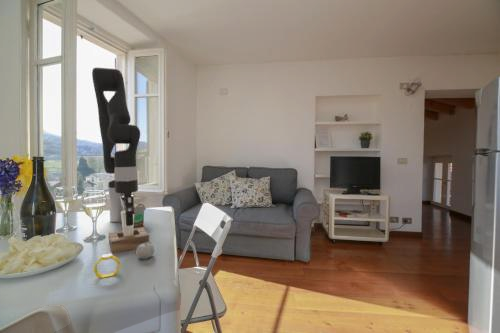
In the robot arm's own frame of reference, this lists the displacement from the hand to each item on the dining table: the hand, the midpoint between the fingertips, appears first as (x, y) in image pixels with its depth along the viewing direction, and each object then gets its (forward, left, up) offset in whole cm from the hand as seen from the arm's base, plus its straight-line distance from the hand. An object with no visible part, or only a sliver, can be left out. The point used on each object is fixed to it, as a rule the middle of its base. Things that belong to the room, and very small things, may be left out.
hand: (128, 222), depth 90 cm
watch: (+23, -8, -8) cm, 26 cm away
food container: (-20, +6, -8) cm, 22 cm away
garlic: (+16, +3, -9) cm, 18 cm away
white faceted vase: (0, 0, -8) cm, 8 cm away
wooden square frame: (0, 0, -8) cm, 8 cm away
